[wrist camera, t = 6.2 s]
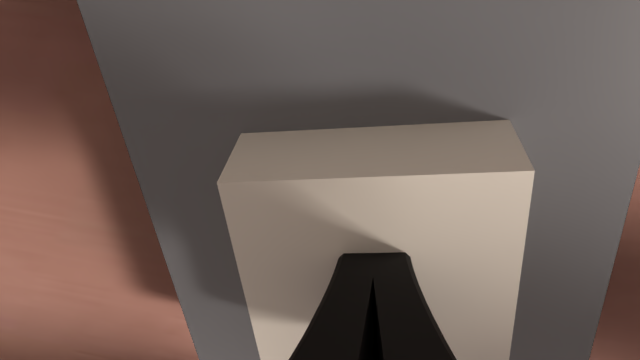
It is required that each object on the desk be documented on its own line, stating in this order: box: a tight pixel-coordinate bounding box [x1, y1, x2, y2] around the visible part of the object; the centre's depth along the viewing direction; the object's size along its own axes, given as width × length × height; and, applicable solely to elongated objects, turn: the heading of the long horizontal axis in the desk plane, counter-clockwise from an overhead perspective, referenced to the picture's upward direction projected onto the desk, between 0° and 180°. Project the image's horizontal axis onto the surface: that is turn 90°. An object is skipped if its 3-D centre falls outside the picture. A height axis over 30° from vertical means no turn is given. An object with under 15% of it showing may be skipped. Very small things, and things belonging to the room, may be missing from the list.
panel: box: [77, 0, 640, 360], centre depth 11 cm, size 22×11×3 cm, turn 6°
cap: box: [217, 120, 535, 360], centre depth 13 cm, size 6×6×5 cm
